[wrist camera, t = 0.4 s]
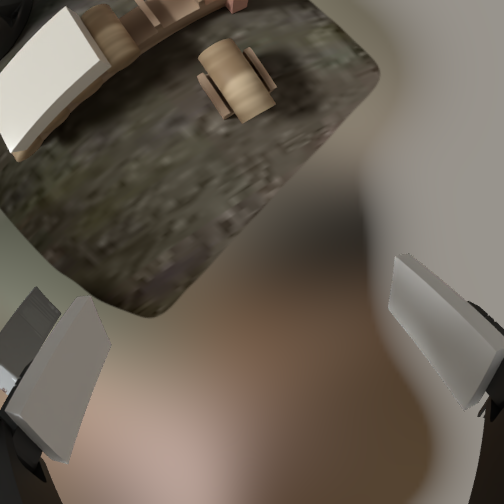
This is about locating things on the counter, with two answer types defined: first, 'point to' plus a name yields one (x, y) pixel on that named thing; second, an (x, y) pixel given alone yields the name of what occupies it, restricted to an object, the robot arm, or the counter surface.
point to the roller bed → (158, 24)
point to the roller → (236, 79)
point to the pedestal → (218, 97)
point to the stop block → (236, 5)
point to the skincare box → (24, 336)
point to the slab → (47, 78)
